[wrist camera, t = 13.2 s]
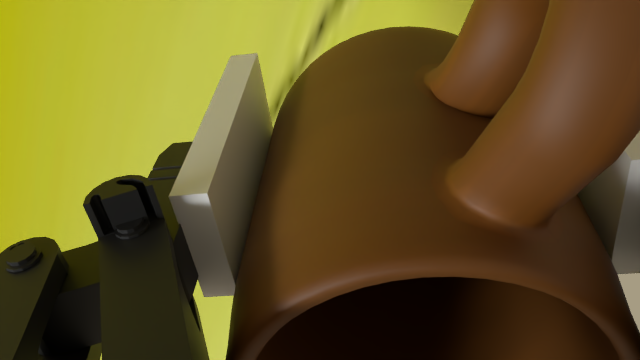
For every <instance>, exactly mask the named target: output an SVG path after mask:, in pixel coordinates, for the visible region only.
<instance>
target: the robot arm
mask: <svg viewBox="0 0 640 360" xmlns="http://www.w3.org/2000/svg"><path fill="white" fill-rule="evenodd" d="M272 132H273V126H272V122H271V117H270V112H269V107H268V103H267V98H266V93H265V88H264V83H263V79H262V74H261V69H260V64H259V60H258V55H257V53H254V54H245V55H236V56H231V57H230V59H229V61H228V63H227V66H226V68H225V70H224V73H223V75H222V77H221V79H220V82H219V84H218V86H217V88H216V91H215V93H214V95H213V97H212V100H211V102H210V104H209V106H208V109H207V111H206V113H205V115H204V118H203V120H202V122H201V124H200V127H199V129H198V131H197V133H196V136H195V138H194V140H193V142H182V143H173V144H172V145H170V146H169V147H168V148H167V149H166V150H165V151H164V152H162V153H161V154H160V155H159V157H158V159H157V161H156V162H155V164H154V166H153V171H151V172H150V174H149V176H148V178H145V177H143V176H140V175H127V176H122V177H116V178H114V179H111V180H109V181H106V182H104V183H102V184H101V185H99V186H97V187H96V188H94V189H93V190H92V191H91V192H90V193H89V194H88V195H87V196H86V198H85V201H84V203H83V206H84V208H85V211H86V213H87V215H88V217H89V219H90V221H91V224H92V226H93V228H94V230H95V232H96V234H97V237H98V241H97V242H95V243H92V244H89V245H86V246H82V247H79V248H75V249H72V250H68V251H65V252H61V250H60V248H59V246H58V245H57V243H56V242H55V240H53V239H50V238H47V237H34V238H30V239H27V240H23V241H20V242H17V243H16V244H13V245H11V246H10V247H8V248H7V249H5V250H4V251H3V252H1V253H0V360H100V356H101V353H102V360H209V356H208V351H207V347H206V343H205V338H204V334H203V329H202V325H201V321H200V316H199V312H198V308H197V305H196V302H195V300H194V297H193V292H194V289H195V286H196V282H197V279H198V281H199V284H200V287H201V289H202V292H203V295H204V297H213V296H231V295H234V292H235V287H236V282H237V277H238V273H239V268H240V264H241V260H242V255H243V251H244V247H245V243H246V238H247V234H248V230H249V226H250V221H251V217H252V213H253V208H254V204H255V200H256V196H257V192H258V188H259V184H260V180H261V176H262V173H263V169H264V165H265V161H266V157H267V153H268V149H269V144H270V140H271V136H272ZM578 196H579V198H580V200H581V202H582V204H583V206H584V208H585V210H586V212H587V214H588V216H589V217H590V219H591V221H592V223H593V225H594V227H595V229H596V231H597V233H598V235H599V237H600V239H601V241H602V243H603V245H604V247H605V249H606V251H607V253H608V255H609V257H610V259H611V261H612V263H613V266H614V268H615V270H616V272H617V274H628V273H640V131H639V132H638V134H637V135H636V136H635V138H634V139H633V140H632V141H631V143H630V144H629V145H628V146H627V148H626V149H625V150H624V151H623V153H622V154H621V155H620V157H619V158H618V159H617V160H616V161H615V162H614V163H613V164H612V165H610V166H609V167H608V168H607V169H606V170H604V171H603V172H602V173H601V174H600V175H599V176H597V177H596V178H595V179H594V180H593V181H592V182H591V183H589V184H588V185H587V186H586V187H585V188H584V189H582V190H581V191H580V192H579V193H578Z"/></svg>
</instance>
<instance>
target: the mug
mask: <svg viewBox="0 0 640 360" xmlns="http://www.w3.org/2000/svg"><path fill="white" fill-rule="evenodd" d="M639 131H640V0H474V2H473V4H472V6H471V9H470V11H469V13H468V15H467V18H466V20H465V22H464V24H463V27H462V29H461V31H460V33H459V36H457V35H454V34H451V33H448V32H446V31H441V30H436V29H431V28H424V27H409V26H408V27H390V28H385V29H379V30H374V31H370V32H367V33H364V34H361V35H357V36H355V37H352V38H350V39H348V40H346V41H344V42H342V43H339V44H338V45H336V46H334V47H333V48H331V49H330V50H328V51H326V52H325V53H323V54H322V55H321V56H320V57H319V58H317V59H316V60H315V61H314V62H312V63H311V64H310V65H309V66H308V68H307V69H306V70H305V71H304V72H303V73H302V74H301V75H300V76H299V78H298V79H297V80H296V82H295V83H294V85H293V86H292V88H291V89H290V90H289V92H288V93H287V95H286V98H285V100H284V102H283V104H282V106H281V108H280V110H279V113H278V116H277V119H276V122H275V125H274V129H273V132H272V136H271V140H270V144H269V149H268V153H267V157H266V161H265V165H264V169H263V173H262V176H261V180H260V184H259V188H258V192H257V196H256V200H255V204H254V208H253V213H252V217H251V221H250V226H249V230H248V234H247V238H246V243H245V247H244V251H243V255H242V260H241V264H240V268H239V273H238V277H237V282H236V287H235V292H234V298H233V305H232V312H231V321H230V330H229V340H228V348H227V354H226V360H640V333H639V330H638V328H637V326H636V323H635V321H634V319H633V316H632V314H631V312H630V309H629V306H628V303H627V300H626V298H625V295H624V292H623V289H622V286H621V283H620V281H619V278H618V275H617V272H616V270H615V268H614V266H613V263H612V261H611V259H610V257H609V255H608V253H607V251H606V249H605V247H604V245H603V243H602V241H601V239H600V237H599V235H598V233H597V231H596V229H595V227H594V225H593V223H592V221H591V219H590V217H589V216H588V214H587V212H586V210H585V208H584V206H583V204H582V202H581V200H580V198H579V196H578V193H579V192H580V191H581V190H582V189H584V188H585V187H586V186H587V185H588V184H589V183H591V182H592V181H593V180H594V179H595V178H596V177H597V176H599V175H600V174H601V173H602V172H603V171H604V170H606V169H607V168H608V167H609V166H610V165H612V164H613V163H614V162H615V161H616V160H617V159H618V158H619V157H620V155H621V154H622V153H623V151H624V150H625V149H626V148H627V146H628V145H629V144H630V143H631V141H632V140H633V139H634V138H635V136H636V135H637V134H638V132H639Z"/></svg>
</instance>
